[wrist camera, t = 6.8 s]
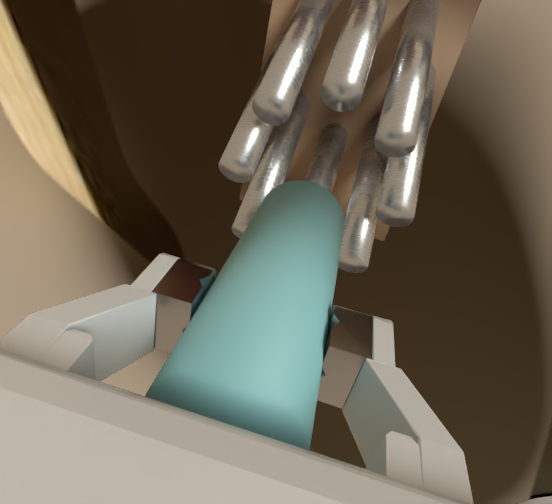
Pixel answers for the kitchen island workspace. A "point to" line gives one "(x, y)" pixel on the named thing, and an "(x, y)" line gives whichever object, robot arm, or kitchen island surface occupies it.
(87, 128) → the kitchen island surface
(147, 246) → the kitchen island surface
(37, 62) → the kitchen island surface
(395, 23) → the socket block
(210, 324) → the peg
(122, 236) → the kitchen island surface
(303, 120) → the metal rod rack
